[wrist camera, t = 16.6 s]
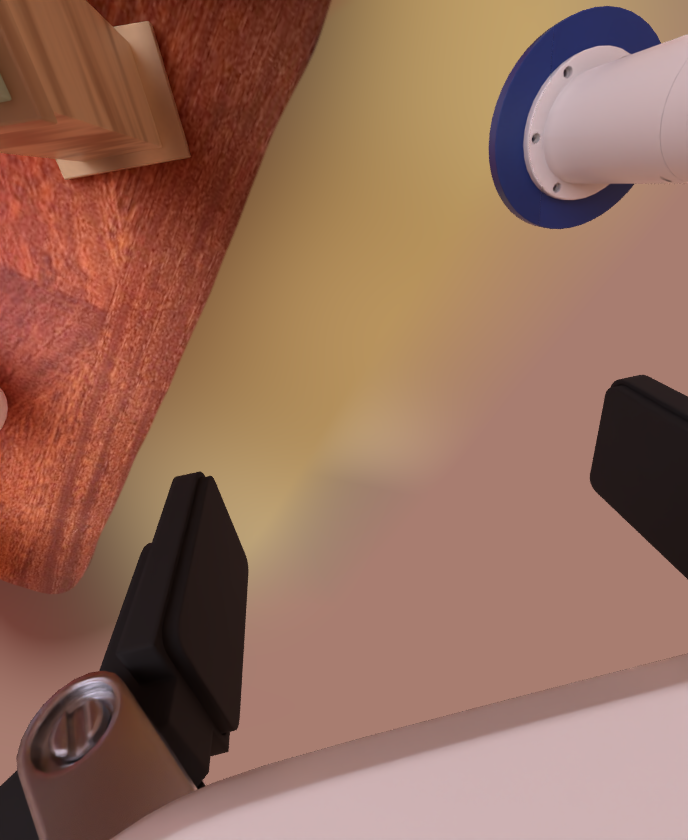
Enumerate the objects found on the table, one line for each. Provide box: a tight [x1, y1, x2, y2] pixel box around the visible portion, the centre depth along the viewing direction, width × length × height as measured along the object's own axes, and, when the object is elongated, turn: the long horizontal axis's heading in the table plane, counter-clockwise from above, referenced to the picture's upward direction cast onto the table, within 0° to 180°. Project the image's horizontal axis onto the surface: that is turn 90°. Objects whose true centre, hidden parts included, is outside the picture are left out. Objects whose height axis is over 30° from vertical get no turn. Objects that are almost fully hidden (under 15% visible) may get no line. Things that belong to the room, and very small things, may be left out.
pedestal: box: [0, 0, 191, 179], centre depth 22 cm, size 12×10×30 cm
